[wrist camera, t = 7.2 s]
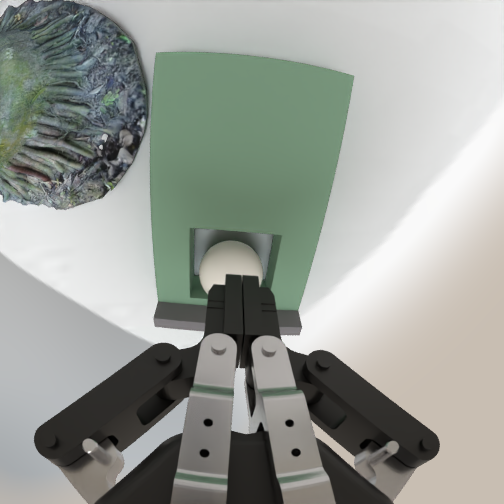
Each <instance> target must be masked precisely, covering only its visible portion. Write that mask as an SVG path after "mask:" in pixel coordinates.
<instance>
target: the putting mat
mask: <svg viewBox="0 0 504 504" xmlns="http://www.w3.org/2000/svg"><path fill="white" fill-rule="evenodd" d="M353 80H354V76H353V75H349V74H346V73H342V72H338V71H334V70H330V69H326V68H321V67H317V66H312V65H307V64H302V63H297V62H291V61H286V60H279V59H273V58H265V57H257V56H249V55H238V54H226V53H207V52H160V53H156V57H155V67H154V78H153V91H152V107H151V131H150V197H151V222H152V239H153V253H154V265H155V276H156V286H157V295H158V304H157V308H156V311H155V315H154V324H155V327H164V328H173V329H184V330H195V331H205V321H206V310H207V301H208V294H207V293H206V292H205V290H204V289H203V287H202V285H201V282H200V278H199V276H194V228H201V229H214V230H227V231H240V232H252V233H264V234H274V236H273V242H272V247H271V253H270V258H269V264H268V269H267V274H266V280H265V281H264V280H262V283H261V285H260V287H268V288H269V289H270V290H271V291H272V293H273V294H274V296H275V302H276V309H277V315H278V322H279V329H280V335H300V332H301V329H302V326H301V321H300V317H299V312H298V309H299V306H300V303H301V299H302V296H303V293H304V289H305V286H306V283H307V279H308V276H309V272H310V269H311V265H312V262H313V258H314V255H315V251H316V247H317V244H318V240H319V236H320V232H321V229H322V225H323V221H324V217H325V213H326V209H327V205H328V201H329V197H330V193H331V188H332V184H333V180H334V175H335V171H336V167H337V162H338V158H339V153H340V148H341V143H342V139H343V134H344V129H345V124H346V119H347V113H348V108H349V103H350V97H351V91H352V86H353Z"/></svg>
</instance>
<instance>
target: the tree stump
mask: <svg viewBox="0 0 504 504" xmlns="http://www.w3.org/2000/svg"><path fill="white" fill-rule="evenodd" d="M146 120H147V89H146V86H145V82H144V78H143V75H142V71H141V68H140V64H139V60H138V57H137V53H136V49H135V45H134V42H133V41H132V40H131V39H130V38H129V37H128V36H127V35H126V34H125V33H124V32H123V31H122V30H121V29H120V28H119V27H118V25H117V24H116V23H114V22H113V21H112V20H110V19H109V18H107V17H106V16H104V15H102V14H101V13H99V12H98V11H96V10H94V9H93V8H91V7H89V6H83V5H80V4H78V3H74V2H70V1H63V0H52V1H43V0H42V1H39V2H34V1H33V0H27V1H25V2H24V3H23V4H21V5H20V6H19V7H17V8H14V7H13V6H8V8H7V9H6V10H5V12H4V14H3V15H2V16H1V17H0V194H1V195H3V202H7V201H9V200H13V201H16V202H18V203H21V204H22V205H28V204H35V205H38V206H39V205H40V204H43V205H46V206H47V207H54V208H55V209H56V210H57V209H60V210H62V209H64V210H66V209H69V208H73V207H75V206H78V205H81V204H84V203H87V202H90V201H93V200H96V199H101V198H103V197H104V195H105V194H106V193H107V192H108V191H109V190H110V188H111V190H112V189H114V188H115V186H116V185H117V183H118V181H119V180H120V179H121V178H122V177H123V175H124V174H125V172H126V170H127V169H128V168H129V167H130V165H131V164H132V162H133V159H134V157H135V154H136V152H137V149H138V146H139V144H140V142H141V139H142V137H143V134H144V131H145V125H146ZM103 134H107V135H108V137H107V140H106V142H105V141H104V140H102V139H101V137H102V135H103ZM104 142H105V143H104ZM100 145H103V149H102V150H101V149H99V146H100Z"/></svg>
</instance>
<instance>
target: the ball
mask: <svg viewBox="0 0 504 504" xmlns="http://www.w3.org/2000/svg"><path fill="white" fill-rule="evenodd" d="M226 274H235V275H241V276H242V275H251V276H258V277H259V287H260V285H261V283H262V278H263V267H262V263H261V260H260V258H259V256H258V255H257V253H256V252H255V251H254V250H253V249H252V248H251V247H250V246H248V245H246V244H245V243H242V242H239V241H223V242H220V243H218V244H216V245H214V246H212V247H211V248H210V249H209V250H208V251H207V252H206V253H205V255H204V256H203V258H202V260H201V263H200V267H199V278H200V282H201V285H202V287H203V289H204V290H205V292H206V293H207V294H208V291H209V290H210V289H211V287H212V286H213V284H220V285H225V277H226Z"/></svg>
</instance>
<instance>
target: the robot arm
mask: <svg viewBox="0 0 504 504" xmlns="http://www.w3.org/2000/svg"><path fill="white" fill-rule="evenodd" d="M239 363H240V368H245V375H246V377H245V382H244V385H245V393H246V400H247V408H248V416H249V434H242V433H238V432H234V431H231V425H232V410H233V398H234V397H233V396H234V378H235V371H236V368H238V365H239ZM187 397H189V400H188V405H187V412H186V417H185V423H184V429H183V433H181V434H178V435H175V436H173V437H171V438H169V439H167V440H166V441H164V442H163V443H162V444H161V445H159V447H157V448H156V449H155V450H154V451H153V452H152V453H151V454H150V455H149V456H148V457H147V458H145V459H144V460H143V461H142V462H141V463H140V464H139V465H138V466H137V467H135V468H134V469H133V470H132V471H131V472H130V473H129V474H128V475H126V477H124V478H123V479H122V480H121V481H120V482H118V483H117V484H116V485H115V481H116V477H117V475H118V474H119V473H120V472H121V470H122V469H123V467H124V458H123V455H122V453H121V452H122V451H123V450H124V449H126V448H127V447H128V446H130V445H131V444H132V443H133V442H135V441H136V440H137V439H138V438H139V437H141V436H142V435H143V434H144V433H146V432H147V431H148V430H149V429H150V428H151V427H152V426H154V425H155V424H156V423H157V422H158V421H160V420H161V419H162V418H163V417H164V416H165V415H167V414H168V413H169V412H170V411H171V410H172V409H174V408H175V407H176V406H177V405H178V404H179V403H180V402H181V401H182V400H183V399H184V398H187ZM311 420H312V421H313V422H314V423H315V424H316V425H318V426H319V427H320V428H321V429H322V430H323V431H325V432H326V433H327V434H328V435H329V436H330V437H332V438H333V439H334V440H335V441H336V442H337V443H339V444H340V445H341V446H342V447H344V448H345V449H346V450H347V451H348V452H350V453H351V454H352V455H354V456H355V460H354V465H355V469H356V470H355V469H353V467H351V466H350V465H349V464H348V463H347V462H345V461H344V460H343V459H342V458H341V457H340V456H339V455H338V454H337V453H335V452H334V451H333V450H332V449H331V448H330V447H329V446H328V445H326V444H325V443H324V442H322V441H321V440H319V439H318V438H316V437H315V435H314V431H313V427H312V423H311ZM34 443H35V446H36V449H37V450H38V452H39V453H40V454H41V455H42V456H44V457H45V458H47V459H48V460H50V461H51V462H52V463H53V464H55V465H56V466H58V467H59V468H60V469H61V471H62V472H63V473H64V475H65V476H66V477H67V478H68V480H69V481H70V482H71V484H72V485H73V486H74V487H75V489H77V491H78V492H79V493H80V495H81V496H82V497H83V498H84V499H85V500H86V501H87V503H88V504H394V503H393V500H394V499H395V498H396V496H397V495H398V494H399V492H400V491H401V490H402V488H403V487H404V485H405V484H406V483H407V481H408V480H409V478H410V477H411V475H412V474H413V472H414V471H415V469H416V468H417V467H419V466H420V465H422V464H424V463H426V462H427V461H429V460H431V459H433V458H434V457H435V456H436V455H437V453H438V451H439V447H440V443H439V439H438V437H437V435H436V434H435V433H434V432H432V431H431V430H430V429H428V428H427V427H426V426H425V425H423V424H422V423H420V422H419V421H418V420H416V419H415V418H414V417H412V416H411V415H410V414H409V413H407V412H406V411H405V410H403V409H402V408H401V407H399V406H398V405H397V404H396V403H394V402H393V401H391V400H390V399H389V398H388V397H386V396H385V395H384V394H383V393H381V392H380V391H379V390H377V389H376V388H375V387H374V386H372V385H371V384H370V383H368V382H367V381H366V380H364V379H363V378H362V377H361V376H360V375H358V374H357V373H356V372H355V371H353V370H352V369H351V368H350V367H348V366H347V365H346V364H344V363H343V362H342V361H340V360H339V359H338V358H337V357H336V356H335V355H333V354H332V353H330V352H328V351H324V350H317V351H313V352H312V353H310V354H309V355H304V354H301V353H297V352H294V351H292V350H290V349H289V348H287V347H286V346H285V344H284V343H283V342H282V340H281V335H280V329H279V322H278V315H277V309H276V302H275V296H274V294H273V293H272V291H271V290H270V289H269V288H268V287H259V277H258V276H251V275H242V276H241V275H235V274H226V277H225V285H220V284H213V286H212V287H211V289H210V290H209V291H208V301H207V310H206V321H205V332H204V337H203V339H202V340H201V341H200V342H199V343H198V344H197V345H195V346H193V347H190V348H186V349H180V350H179V349H178V348H177V347H175V346H174V345H172V344H169V343H158V344H155V345H153V346H151V347H150V348H149V349H147V350H146V351H144V352H143V353H142V354H140V355H139V356H138V357H136V358H135V359H134V360H132V361H131V362H129V363H128V364H127V365H126V366H124V367H123V368H121V369H120V370H118V371H117V372H116V373H114V374H113V375H112V376H110V377H109V378H108V379H106V380H105V381H103V382H102V383H100V384H99V385H98V386H96V387H95V388H93V389H92V390H91V391H89V392H88V393H86V394H85V395H84V396H82V397H81V398H79V399H78V400H77V401H75V402H74V403H72V404H71V405H70V406H68V407H67V408H65V409H64V410H62V411H61V412H60V413H58V414H57V415H55V416H54V417H53V418H51V419H50V420H48V421H47V422H45V423H44V424H43V425H41V426H40V427H39V428H38V429H37V431H36V433H35V436H34ZM358 472H359V473H358Z"/></svg>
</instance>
